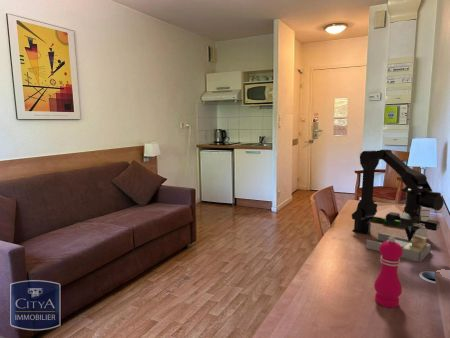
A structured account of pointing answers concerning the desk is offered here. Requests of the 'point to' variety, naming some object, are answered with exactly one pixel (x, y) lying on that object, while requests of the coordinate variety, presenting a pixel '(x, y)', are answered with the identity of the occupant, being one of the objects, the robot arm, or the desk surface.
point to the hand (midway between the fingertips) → (409, 240)
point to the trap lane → (406, 246)
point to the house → (388, 211)
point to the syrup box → (424, 217)
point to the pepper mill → (389, 274)
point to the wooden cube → (419, 242)
